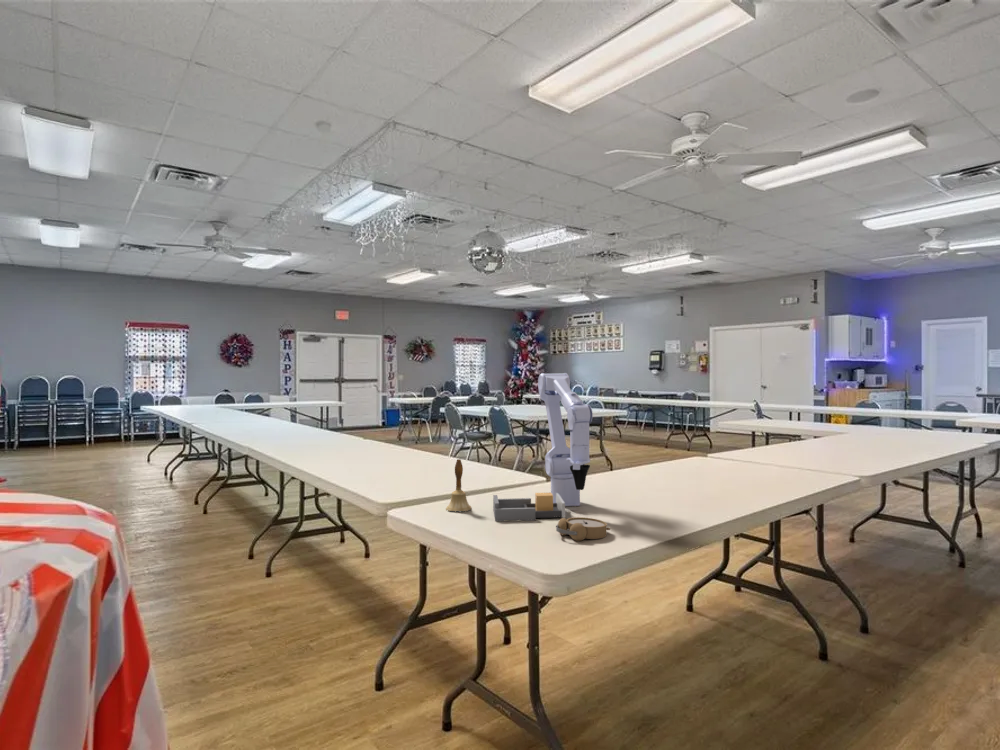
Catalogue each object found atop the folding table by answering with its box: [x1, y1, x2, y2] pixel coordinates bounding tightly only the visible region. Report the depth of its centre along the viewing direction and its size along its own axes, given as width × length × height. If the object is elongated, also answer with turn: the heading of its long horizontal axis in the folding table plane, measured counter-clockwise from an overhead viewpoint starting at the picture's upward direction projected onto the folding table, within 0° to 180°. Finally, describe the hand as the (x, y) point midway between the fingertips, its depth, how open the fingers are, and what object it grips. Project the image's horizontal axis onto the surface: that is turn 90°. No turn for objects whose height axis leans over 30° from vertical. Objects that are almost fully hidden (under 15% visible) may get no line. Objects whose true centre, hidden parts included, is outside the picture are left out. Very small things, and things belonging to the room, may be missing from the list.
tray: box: [523, 493, 566, 519], centre depth 175 cm, size 11×13×5 cm
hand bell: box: [445, 458, 473, 513], centre depth 182 cm, size 8×8×16 cm
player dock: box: [492, 494, 536, 522], centre depth 174 cm, size 12×13×5 cm
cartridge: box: [534, 492, 553, 511], centre depth 175 cm, size 5×4×5 cm
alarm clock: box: [555, 516, 611, 542], centre depth 153 cm, size 11×5×15 cm
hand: (580, 489), depth 172 cm, fingers closed
